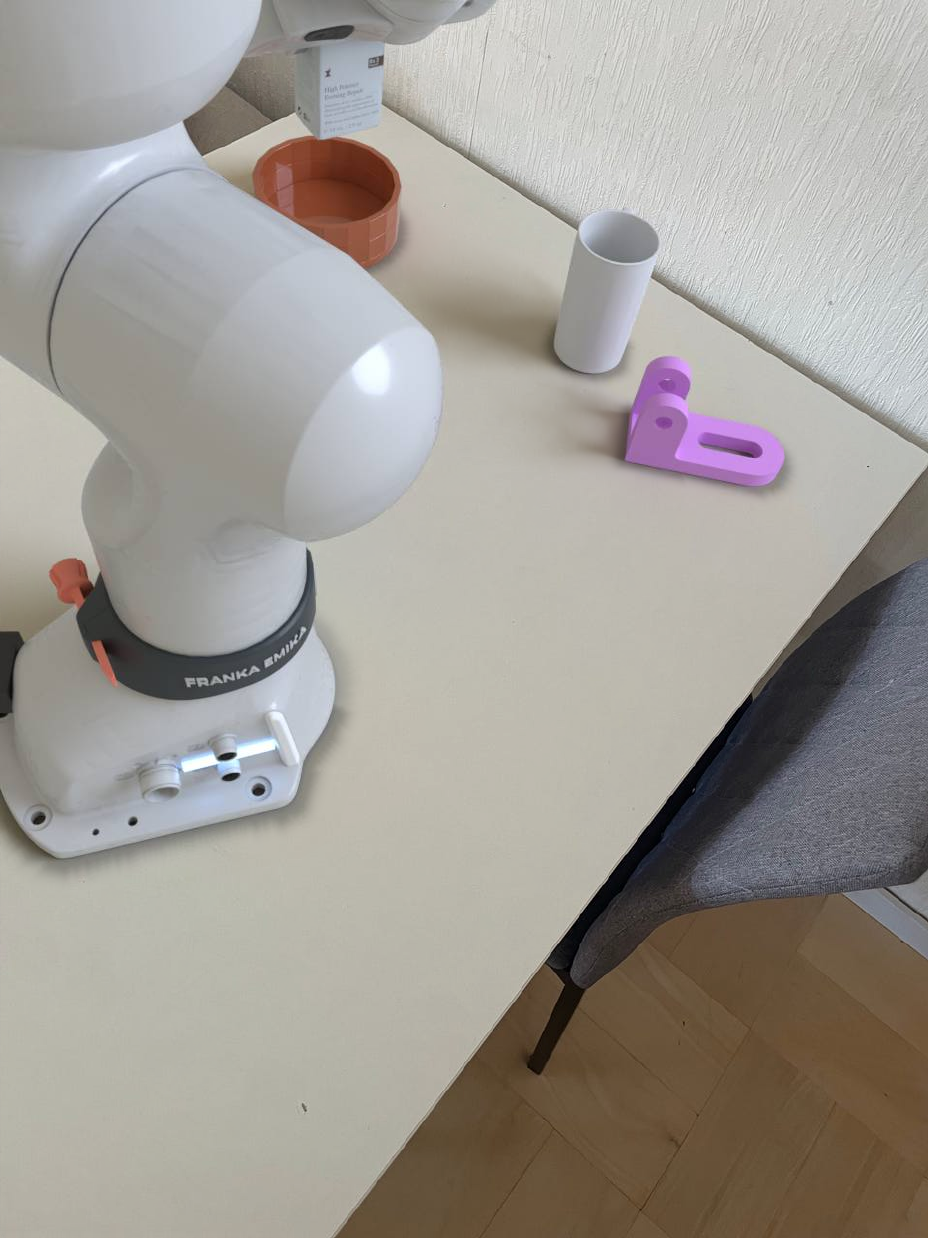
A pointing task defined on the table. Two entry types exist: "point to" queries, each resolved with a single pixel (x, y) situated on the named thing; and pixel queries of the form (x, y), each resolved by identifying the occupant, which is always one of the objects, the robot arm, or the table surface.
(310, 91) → the cosmetic box
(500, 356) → the table surface
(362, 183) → the bowl
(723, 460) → the bracket
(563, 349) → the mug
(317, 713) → the robot arm
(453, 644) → the table surface
